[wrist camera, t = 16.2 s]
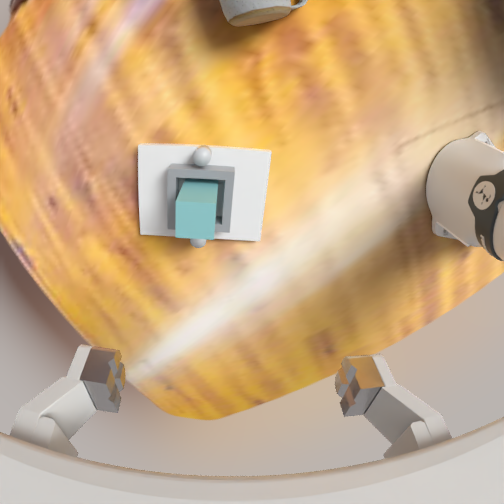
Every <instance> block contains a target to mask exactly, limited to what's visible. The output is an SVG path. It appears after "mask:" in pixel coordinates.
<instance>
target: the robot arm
mask: <svg viewBox="0 0 504 504" xmlns="http://www.w3.org/2000/svg"><path fill="white" fill-rule="evenodd" d="M426 197H427V202H428V206H429V209H430V211H431V214H432V231H433V233H434V234H436V235H437V236H440V237H446V238H452V239H457V240H459V241H461V242H462V243H463V244H464V245H466V246H468V247H469V246H470V245H471V246H474V247H483V248H484V249H485V250H486V251H487V252H488V253H489V254H490V255H491V256H493V257H495V258H496V259H498V260H500V261H504V152H503V151H501V150H499V149H497V148H496V147H495V146H494V145H493V143H492V142H491V140H490V139H489V138H488V136H487V135H486V134H485V133H484V132H482V131H477V132H476V133H474V134H473V135H471V136H470V137H469V138H465V139H458V140H455V141H453V142H451V143H449V144H448V145H446V146H445V147H444V148H443V149H442V150H441V151H440V152H439V153H438V155H437V156H436V158H435V159H434V161H433V163H432V165H431V168H430V171H429V174H428V178H427V184H426ZM120 360H121V353H120V351H119V350H114V349H108V348H102V347H96V346H89V345H83V344H81V345H80V346H79V347H78V349H77V351H76V353H75V356H74V358H73V361H72V363H71V365H70V368H69V371H68V373H67V375H66V377H61V378H60V379H59V380H57V381H56V382H55V383H53V384H52V385H50V386H49V387H48V388H46V389H45V390H44V391H42V392H41V393H40V394H38V395H37V396H36V397H34V398H33V399H32V400H31V401H29V402H27V403H26V404H25V405H23V406H22V407H21V408H20V409H19V412H18V414H17V417H16V420H15V422H14V425H13V428H12V430H11V433H10V436H9V435H7V434H4V433H1V432H0V504H504V417H502V418H500V419H498V420H496V421H494V422H492V423H490V424H487V425H485V426H483V427H480V428H478V429H476V430H473V431H471V432H468V433H466V434H463V435H461V436H458V437H455V438H452V437H451V435H450V433H449V430H448V428H447V426H446V424H445V422H444V420H443V417H442V415H441V414H440V413H438V412H437V411H436V410H434V409H433V408H431V407H430V406H429V405H427V404H426V403H425V402H423V401H422V400H420V399H419V398H418V397H416V396H415V395H413V394H412V393H411V392H409V391H408V390H407V389H405V388H404V387H403V386H401V385H397V384H396V382H395V380H394V378H393V375H392V373H391V371H390V369H389V368H388V365H387V363H386V361H385V359H384V357H383V355H381V354H375V355H361V356H348V357H345V358H344V359H343V361H342V363H341V364H342V368H341V369H340V370H338V372H337V374H336V377H335V386H336V387H335V388H336V392H337V394H338V395H339V396H341V397H342V400H341V402H340V405H341V408H342V411H343V415H344V417H345V416H355V415H363V414H364V416H365V417H366V418H367V419H368V420H369V421H370V422H371V423H372V424H373V425H374V426H375V427H376V428H377V429H378V430H379V431H380V432H381V433H382V434H383V435H384V436H385V437H386V438H387V439H388V440H389V441H390V442H391V443H392V446H391V447H390V448H389V449H388V450H387V451H386V452H385V453H384V458H385V459H382V460H377V461H373V462H368V463H363V464H358V465H353V466H348V467H342V468H335V469H330V470H322V471H314V472H306V473H296V474H284V475H270V476H240V477H239V476H237V477H236V476H235V477H234V476H230V477H229V476H197V475H182V474H171V473H161V472H153V471H145V470H137V469H132V468H125V467H120V466H114V465H109V464H104V463H99V462H95V461H90V460H86V459H82V458H78V457H77V455H78V452H77V450H76V449H75V448H74V446H73V445H72V444H71V443H70V441H69V439H70V438H71V437H72V436H73V435H74V434H75V433H76V432H77V431H78V430H79V429H80V428H81V427H82V426H83V425H84V424H85V423H86V422H87V421H88V420H89V419H90V418H91V416H92V415H93V414H94V413H95V412H96V411H97V410H102V411H108V412H115V413H118V410H119V406H120V401H121V396H120V394H119V392H120V391H121V390H123V388H124V384H125V368H124V365H123V364H122V363H121V362H120Z"/></svg>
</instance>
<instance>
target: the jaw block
mask: <svg viewBox="0 0 504 504" xmlns="http://www.w3.org/2000/svg"><path fill="white" fill-rule="evenodd" d="M217 194H218V180H210V179H192V178H186V179H185V181H184V183H183V185H182V188H181V190H180V192H179V195H178V197H177V199H176V225H175V228H176V238H192V239H209V240H214V232H215V220H216V208H217Z"/></svg>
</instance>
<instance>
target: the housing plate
mask: <svg viewBox="0 0 504 504" xmlns="http://www.w3.org/2000/svg"><path fill="white" fill-rule="evenodd" d="M270 160H271V150H264V149H253V148H241V147H228V146H212V145H192V144H156V143H141V144H139V145H138V190H139V217H140V235H159V236H176V228H175V225H176V199H177V197H178V195H179V192H180V190H181V188H182V185H183V183H184V181H185V179H186V178H192V179H210V180H218V194H217V208H216V220H215V232H214V239H231V240H247V241H260V238H261V230H262V222H263V215H264V207H265V199H266V192H267V184H268V176H269V168H270ZM190 243H191V245H192V246H194V247H196V248H201V247H203V246H204V245H205V244H206V239H192V238H190Z"/></svg>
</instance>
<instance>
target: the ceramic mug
mask: <svg viewBox="0 0 504 504" xmlns="http://www.w3.org/2000/svg"><path fill="white" fill-rule="evenodd" d="M219 1H220V4H221V7H222V11H223V14H224V16H225V17H226V19H227V21H228V23H229V24H231V25H233V26H248V25H255V24H260V23H265V22H269V21H273V20H277V19H280V18H283V17H285V16H287V15H288V14H289V13H290V11H291V10H294V9H297V8H299V7H302V6H303V5H305V4H306V2H307V1H308V0H299V2H298V3H297V4H296V5H294V6H291V0H219Z"/></svg>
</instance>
